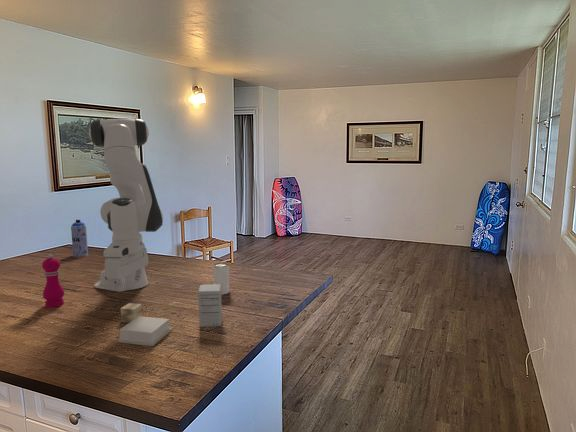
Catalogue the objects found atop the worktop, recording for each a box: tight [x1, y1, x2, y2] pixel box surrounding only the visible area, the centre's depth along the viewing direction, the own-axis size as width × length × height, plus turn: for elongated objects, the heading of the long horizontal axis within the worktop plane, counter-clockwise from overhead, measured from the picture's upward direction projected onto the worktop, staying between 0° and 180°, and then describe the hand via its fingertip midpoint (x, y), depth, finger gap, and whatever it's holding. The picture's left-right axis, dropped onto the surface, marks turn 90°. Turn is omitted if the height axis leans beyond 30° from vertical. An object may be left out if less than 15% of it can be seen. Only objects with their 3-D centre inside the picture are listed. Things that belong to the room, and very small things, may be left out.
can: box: [212, 262, 230, 296], centre depth 181 cm, size 6×6×12 cm
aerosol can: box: [70, 219, 89, 258], centre depth 242 cm, size 8×8×20 cm
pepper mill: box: [41, 253, 65, 309], centre depth 166 cm, size 7×7×20 cm
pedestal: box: [117, 315, 173, 347], centre depth 140 cm, size 12×12×4 cm
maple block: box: [120, 302, 143, 323], centre depth 153 cm, size 5×5×5 cm
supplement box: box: [197, 283, 223, 328], centre depth 150 cm, size 7×7×13 cm
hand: (130, 285), depth 151 cm, fingers open, 8 cm apart
